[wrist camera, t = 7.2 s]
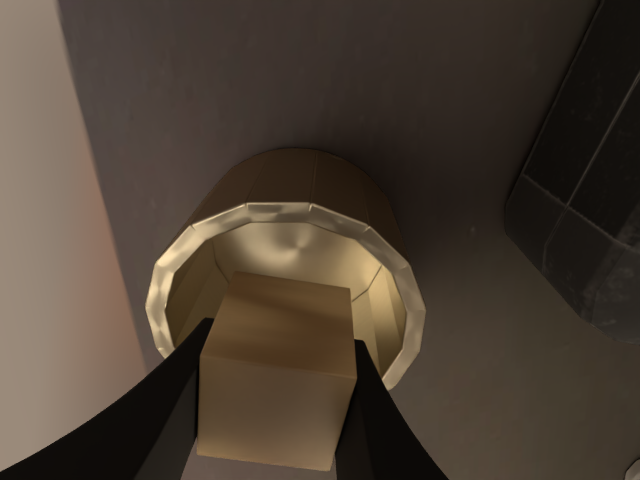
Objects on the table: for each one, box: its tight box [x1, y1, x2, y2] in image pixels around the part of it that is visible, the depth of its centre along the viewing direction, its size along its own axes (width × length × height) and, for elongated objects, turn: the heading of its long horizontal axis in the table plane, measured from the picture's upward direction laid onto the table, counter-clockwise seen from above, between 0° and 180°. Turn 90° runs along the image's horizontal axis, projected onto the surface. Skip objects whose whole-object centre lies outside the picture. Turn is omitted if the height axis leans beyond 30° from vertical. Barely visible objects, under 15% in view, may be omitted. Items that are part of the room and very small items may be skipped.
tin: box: [145, 148, 426, 391], centre depth 17 cm, size 10×10×6 cm
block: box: [197, 271, 357, 471], centre depth 12 cm, size 4×4×4 cm
